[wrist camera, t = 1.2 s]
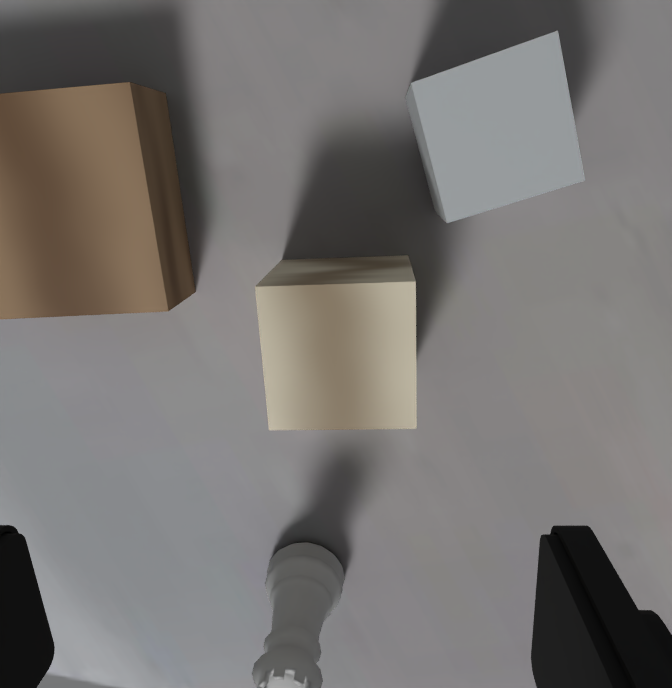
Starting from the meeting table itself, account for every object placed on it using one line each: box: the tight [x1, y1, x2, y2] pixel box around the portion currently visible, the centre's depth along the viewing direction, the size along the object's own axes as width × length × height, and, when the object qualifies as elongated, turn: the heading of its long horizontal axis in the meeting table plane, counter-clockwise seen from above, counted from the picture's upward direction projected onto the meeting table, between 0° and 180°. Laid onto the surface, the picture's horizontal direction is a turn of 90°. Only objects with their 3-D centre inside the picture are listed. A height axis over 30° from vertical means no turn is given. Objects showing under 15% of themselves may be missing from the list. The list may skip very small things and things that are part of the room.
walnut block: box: [0, 82, 196, 319], centre depth 25 cm, size 9×9×4 cm
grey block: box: [405, 31, 585, 223], centre depth 22 cm, size 5×5×5 cm
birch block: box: [255, 255, 417, 430], centre depth 24 cm, size 6×6×6 cm
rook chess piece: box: [252, 542, 345, 688], centre depth 28 cm, size 4×4×8 cm
